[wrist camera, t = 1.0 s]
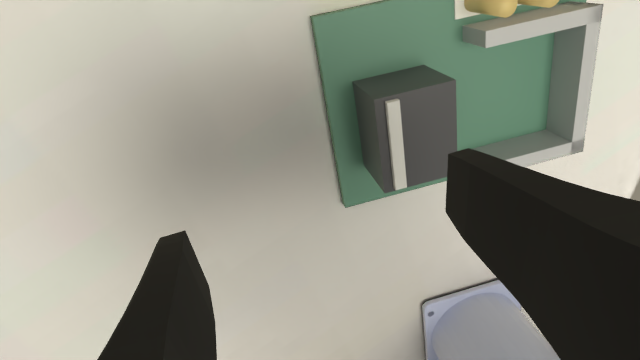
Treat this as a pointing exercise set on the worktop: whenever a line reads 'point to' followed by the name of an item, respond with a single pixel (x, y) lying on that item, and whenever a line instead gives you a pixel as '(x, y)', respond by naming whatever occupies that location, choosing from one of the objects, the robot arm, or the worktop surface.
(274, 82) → the worktop surface
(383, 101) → the plug block
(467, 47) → the header board
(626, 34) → the worktop surface
